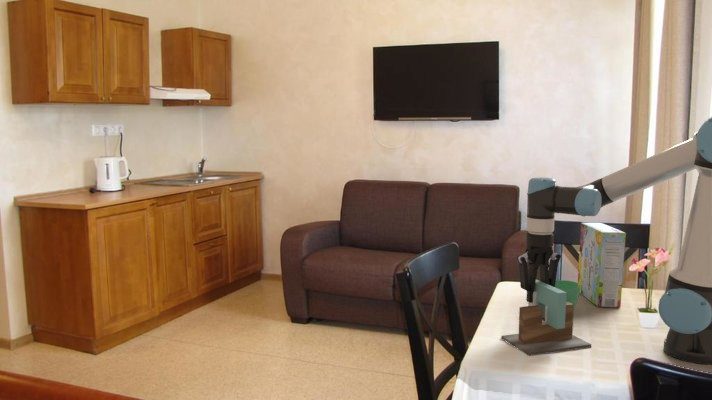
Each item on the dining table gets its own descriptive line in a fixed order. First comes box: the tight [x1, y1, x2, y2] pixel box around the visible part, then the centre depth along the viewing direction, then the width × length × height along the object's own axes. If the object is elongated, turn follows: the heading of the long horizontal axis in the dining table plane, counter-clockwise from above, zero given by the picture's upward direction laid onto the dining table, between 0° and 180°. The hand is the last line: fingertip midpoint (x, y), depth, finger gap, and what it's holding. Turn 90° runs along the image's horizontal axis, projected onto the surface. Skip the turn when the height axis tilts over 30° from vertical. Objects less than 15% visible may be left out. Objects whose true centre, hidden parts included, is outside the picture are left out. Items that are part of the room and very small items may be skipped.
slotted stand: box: [500, 302, 592, 356], centre depth 180 cm, size 14×20×11 cm
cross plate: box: [527, 279, 566, 329], centre depth 179 cm, size 14×2×10 cm, turn 18°
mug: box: [555, 279, 581, 311], centre depth 208 cm, size 15×10×10 cm
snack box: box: [577, 222, 627, 308], centre depth 222 cm, size 22×9×26 cm, turn 179°
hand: (536, 312), depth 184 cm, fingers closed on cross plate, 2 cm apart
